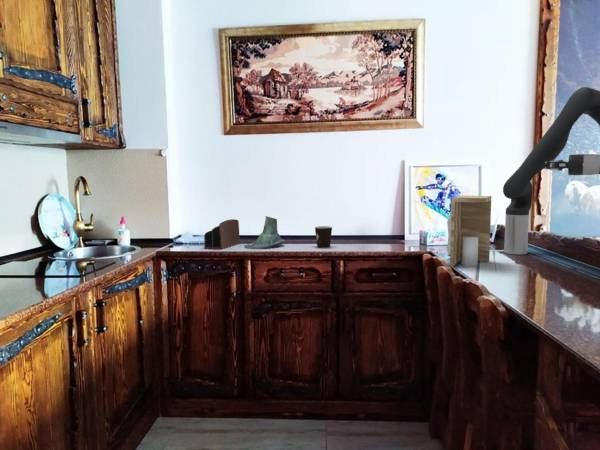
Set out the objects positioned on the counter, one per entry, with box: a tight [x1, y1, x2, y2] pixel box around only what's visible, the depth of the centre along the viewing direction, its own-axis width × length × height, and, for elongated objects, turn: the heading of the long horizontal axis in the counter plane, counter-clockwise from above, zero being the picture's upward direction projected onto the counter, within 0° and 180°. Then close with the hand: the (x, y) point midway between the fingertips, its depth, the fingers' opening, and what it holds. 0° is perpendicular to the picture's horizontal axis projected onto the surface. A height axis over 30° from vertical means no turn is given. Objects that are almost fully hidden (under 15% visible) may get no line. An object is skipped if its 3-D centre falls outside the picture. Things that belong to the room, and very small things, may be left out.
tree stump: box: [244, 215, 286, 250], centre depth 222 cm, size 18×20×18 cm
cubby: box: [449, 195, 492, 268], centre depth 168 cm, size 17×12×26 cm
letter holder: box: [203, 218, 241, 250], centre depth 223 cm, size 10×20×14 cm, turn 161°
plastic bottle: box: [446, 215, 451, 256], centre depth 187 cm, size 6×7×20 cm
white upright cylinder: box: [461, 236, 479, 267], centre depth 168 cm, size 6×6×11 cm
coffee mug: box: [314, 225, 333, 249], centre depth 218 cm, size 12×9×10 cm
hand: (533, 165), depth 164 cm, fingers open, 8 cm apart
